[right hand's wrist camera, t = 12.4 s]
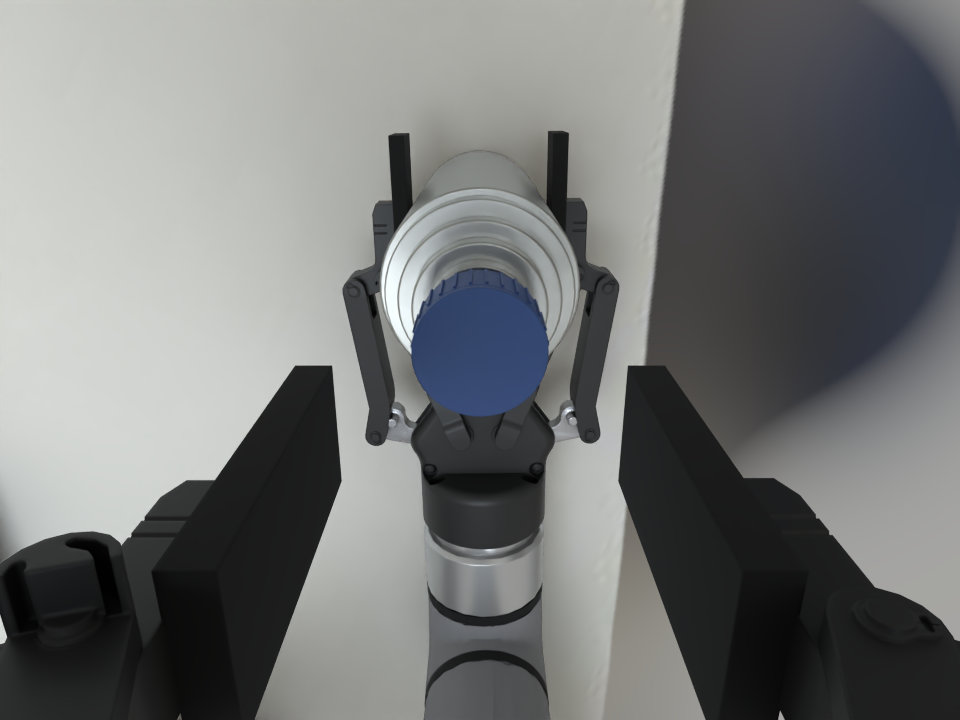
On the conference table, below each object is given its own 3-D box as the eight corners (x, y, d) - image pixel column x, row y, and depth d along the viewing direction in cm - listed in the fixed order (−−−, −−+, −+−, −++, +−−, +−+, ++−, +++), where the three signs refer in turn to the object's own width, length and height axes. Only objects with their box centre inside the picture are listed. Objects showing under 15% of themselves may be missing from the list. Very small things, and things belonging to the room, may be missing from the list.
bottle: (523, 280, 44) (573, 486, 20) (411, 256, 43) (330, 439, 20) (551, 165, 41) (646, 249, 18) (433, 138, 41) (369, 188, 17)
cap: (527, 400, 21) (531, 430, 19) (405, 375, 21) (397, 404, 19) (558, 282, 20) (567, 302, 18) (428, 254, 20) (423, 271, 18)
